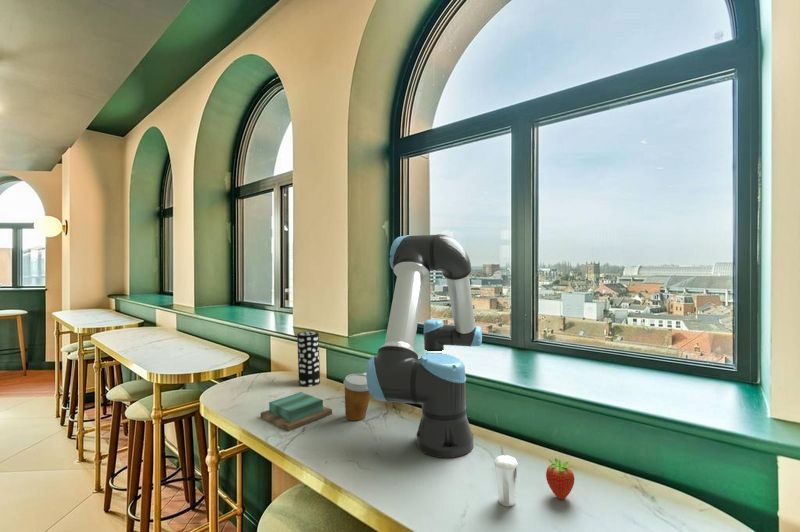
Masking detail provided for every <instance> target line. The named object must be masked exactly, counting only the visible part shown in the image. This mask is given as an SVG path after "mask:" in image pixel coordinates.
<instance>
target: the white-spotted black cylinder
mask: <svg viewBox="0 0 800 532" xmlns="http://www.w3.org/2000/svg"><path fill="white" fill-rule="evenodd" d="M296 338H297V339H296V340H297V366H298V367H297V369H298V370H297V371H298V385H299V386H300V387H305V388H308V387H315V386H318V385H319V384H320V383H321V373H320V372H321V371H320V370H321V368H320V340H319V339H320V338H319V332H318V331H303V332H298V333H297V334H296Z"/></svg>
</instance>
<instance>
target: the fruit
mask: <svg viewBox="0 0 800 532" xmlns="http://www.w3.org/2000/svg"><path fill="white" fill-rule="evenodd" d="M548 461H549V462H550V463H551V464H550V465H549V466H548V467H547V468H546V470H545V478H546V482H547V484H548V486H549V488H550V490H551V491H552V493H553V494H554V495H555V497H557V498H558V499H559V500H564V499H566V498H567V497H568V496H569V495H570V493H571V492H572V490H573V487H574V485H575V475H574V472H573V470H572V469H571V467H572V465H570V466H568V463H569V461H565V462H564V463H563V462H561V460H559V459H558V458H557V457H555V458H554V461H553V460H551V459H548Z"/></svg>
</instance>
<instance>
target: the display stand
mask: <svg viewBox="0 0 800 532" xmlns="http://www.w3.org/2000/svg"><path fill="white" fill-rule="evenodd" d="M268 404H269V405H268V406H269V407H268V409H267V410H264V411H261V412H260V418H261V419H263V420H265V421H267V422H269V423H271V424H273V425H275V426H277V427H279V428H281V429H283V430H285V431H288V432H290V431H294V430H295V429H298V428H300V427H303V426H306V425H308V424H311V423H313V422H316V421H318V420H320V419H323V418H326V417H329V416H330V415H333V409H332V408H329V407H327V406H324V399H321V398H319V397H316V396H313V395H310V394H307V393H305V392H302V391H301V392H297V393H295V394H291V395H288V396H285V397H281V398H278V399H274V400H272V401H270V402H268Z"/></svg>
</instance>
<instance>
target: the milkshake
mask: <svg viewBox="0 0 800 532" xmlns="http://www.w3.org/2000/svg"><path fill="white" fill-rule="evenodd" d="M518 465H519V463H518V461H517V459H516V457H514V456H511V455H504V447H503V446H502V445H500V455H498V456H497V457H496V458H495V459H494V469H495V479H496V489H497V499H498V502H499V504H500V505H502V506H504V507H512V506H514V505H515V503H516V494H517V477H518V467H519V466H518Z"/></svg>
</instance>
